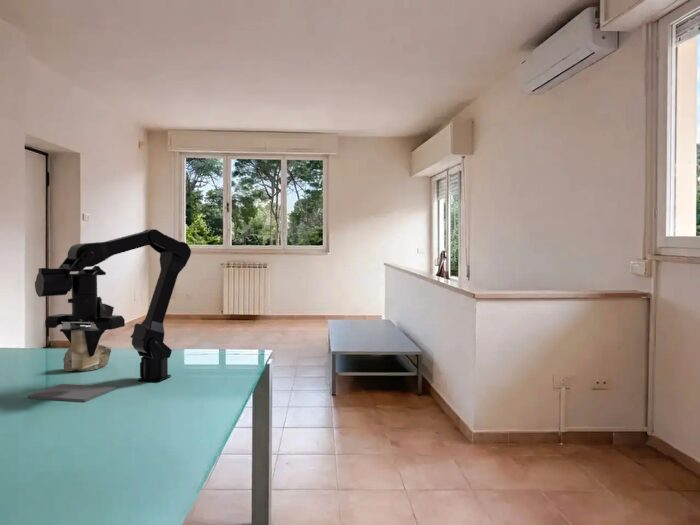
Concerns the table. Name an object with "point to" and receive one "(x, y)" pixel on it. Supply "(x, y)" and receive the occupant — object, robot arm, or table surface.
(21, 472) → the table surface
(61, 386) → the mat
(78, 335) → the wooden block
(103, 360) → the rock
